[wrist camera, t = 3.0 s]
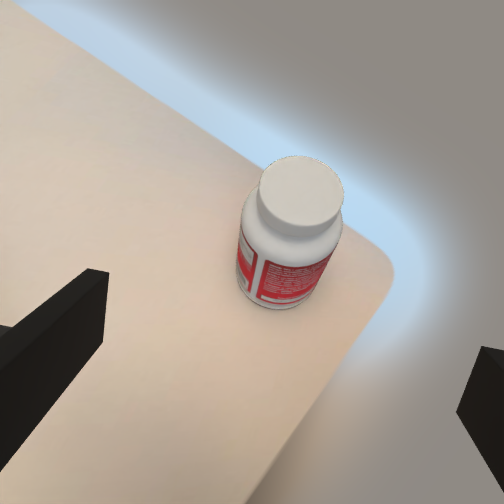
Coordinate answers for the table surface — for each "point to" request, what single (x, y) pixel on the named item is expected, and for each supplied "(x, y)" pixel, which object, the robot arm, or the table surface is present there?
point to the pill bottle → (288, 231)
